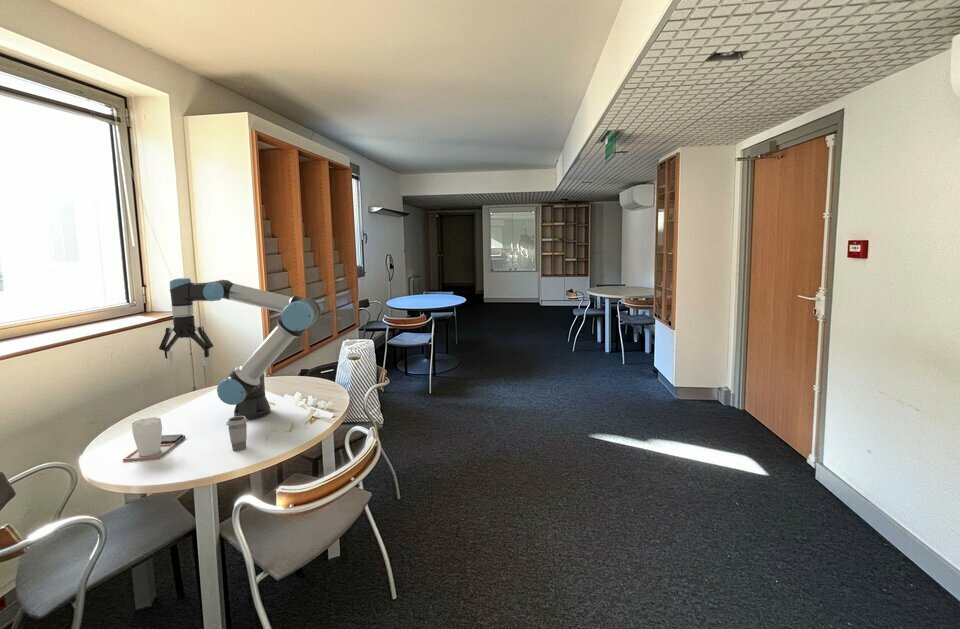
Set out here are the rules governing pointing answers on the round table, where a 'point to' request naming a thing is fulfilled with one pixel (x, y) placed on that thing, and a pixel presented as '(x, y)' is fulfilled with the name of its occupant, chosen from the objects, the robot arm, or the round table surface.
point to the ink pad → (172, 439)
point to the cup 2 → (238, 432)
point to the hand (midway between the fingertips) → (188, 365)
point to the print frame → (136, 457)
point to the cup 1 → (147, 435)
